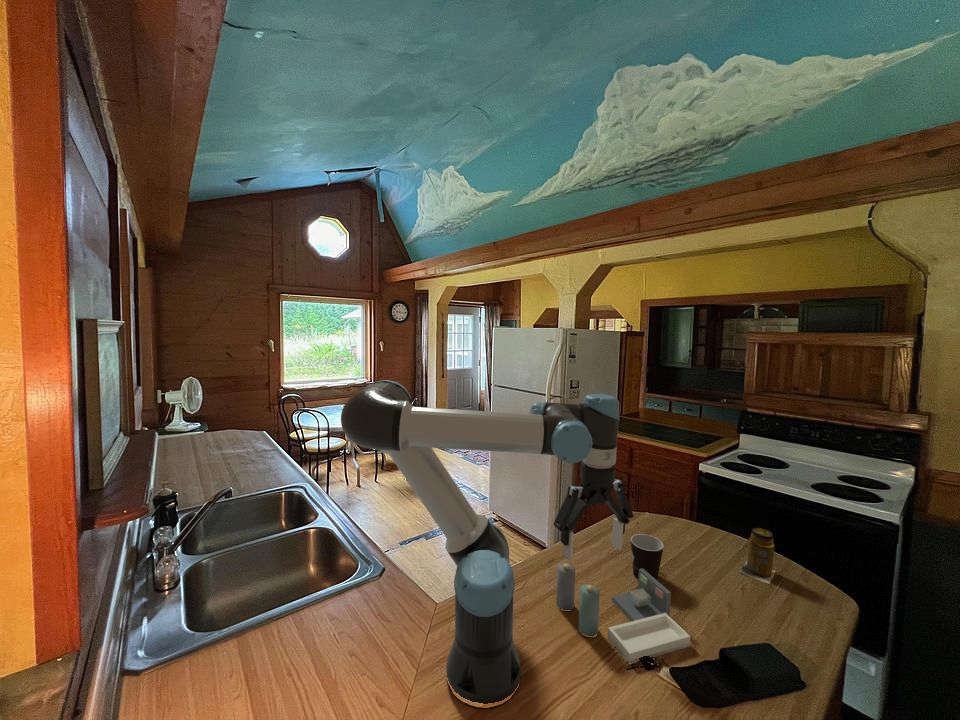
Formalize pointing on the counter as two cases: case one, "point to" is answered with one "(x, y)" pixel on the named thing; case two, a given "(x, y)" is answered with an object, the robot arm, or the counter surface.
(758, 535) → the condiment
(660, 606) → the grey l-shaped piece
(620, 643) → the trough
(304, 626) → the counter surface
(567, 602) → the cell
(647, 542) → the coffee mug
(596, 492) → the robot arm
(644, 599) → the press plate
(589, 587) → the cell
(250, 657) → the counter surface
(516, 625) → the counter surface
